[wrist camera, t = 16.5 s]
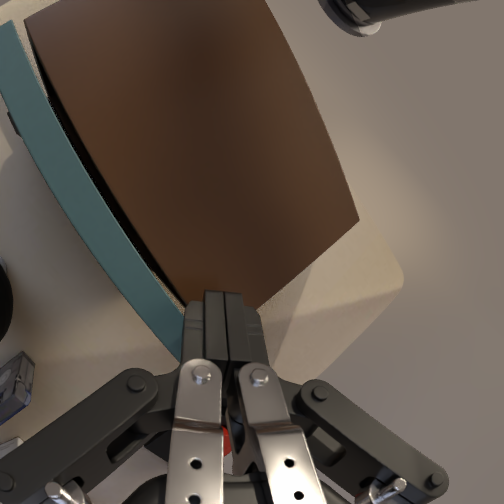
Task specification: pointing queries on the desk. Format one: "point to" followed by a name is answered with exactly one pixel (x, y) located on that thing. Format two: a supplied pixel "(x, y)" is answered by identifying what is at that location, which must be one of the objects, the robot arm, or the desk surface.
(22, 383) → the mini dv tape
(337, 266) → the desk surface
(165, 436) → the button box
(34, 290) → the desk surface
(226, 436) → the button
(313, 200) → the cabinet
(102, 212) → the door
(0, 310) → the light bulb
